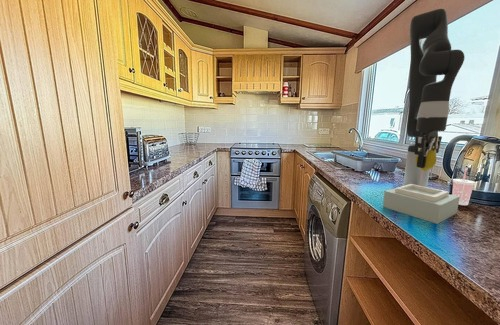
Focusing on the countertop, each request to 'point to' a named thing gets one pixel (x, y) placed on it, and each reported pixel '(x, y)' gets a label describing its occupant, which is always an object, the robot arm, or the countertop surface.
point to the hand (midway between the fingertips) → (424, 166)
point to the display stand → (422, 202)
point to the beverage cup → (463, 189)
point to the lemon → (428, 160)
